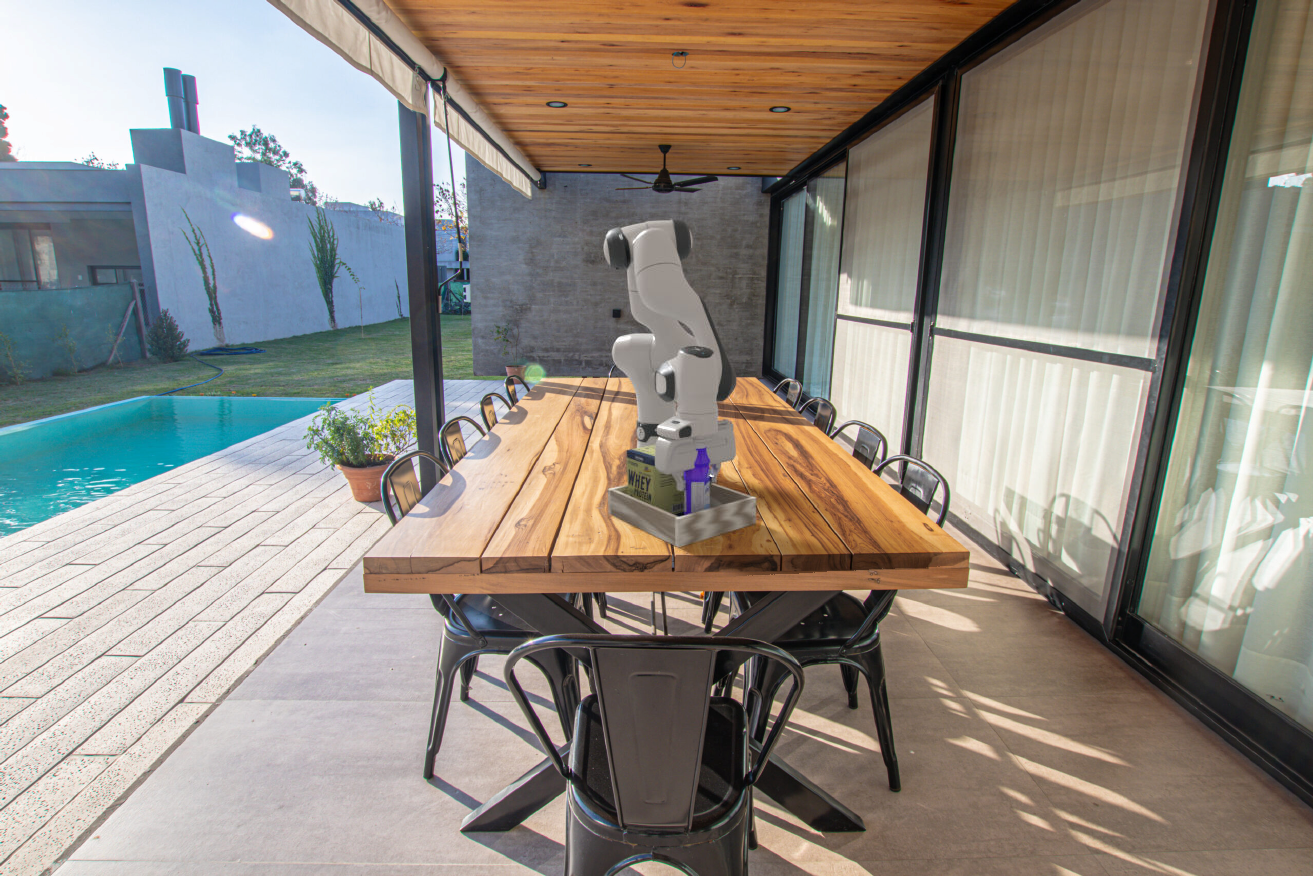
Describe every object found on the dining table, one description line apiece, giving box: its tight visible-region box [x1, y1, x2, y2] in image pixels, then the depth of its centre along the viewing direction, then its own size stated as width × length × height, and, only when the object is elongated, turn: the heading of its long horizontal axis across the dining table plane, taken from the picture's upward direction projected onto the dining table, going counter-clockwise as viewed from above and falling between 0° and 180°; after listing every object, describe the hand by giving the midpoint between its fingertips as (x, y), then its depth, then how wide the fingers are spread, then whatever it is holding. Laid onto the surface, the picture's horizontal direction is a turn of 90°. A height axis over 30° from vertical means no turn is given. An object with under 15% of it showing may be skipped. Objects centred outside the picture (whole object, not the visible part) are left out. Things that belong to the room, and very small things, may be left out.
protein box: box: [626, 445, 684, 517], centre depth 148 cm, size 10×16×16 cm
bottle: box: [684, 442, 711, 515], centre depth 138 cm, size 7×6×17 cm
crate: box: [607, 483, 757, 548], centre depth 145 cm, size 22×26×6 cm
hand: (696, 486), depth 139 cm, fingers closed on bottle, 7 cm apart
